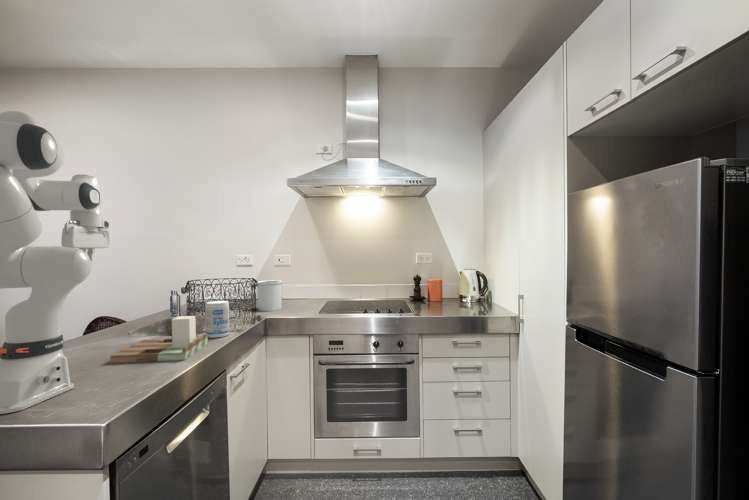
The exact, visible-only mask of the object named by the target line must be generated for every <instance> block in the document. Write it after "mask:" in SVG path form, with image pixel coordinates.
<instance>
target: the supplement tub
mask: <svg viewBox="0 0 749 500" xmlns="http://www.w3.org/2000/svg"><path fill="white" fill-rule="evenodd" d="M204 312H205V333H207V335H208V339H209V338H211V339H213V338H214V339H216V338H225V337H226V336H229V335H230V302H229V301H227V300H213V301H206V302H205V311H204Z"/></svg>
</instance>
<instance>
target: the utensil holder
mask: <svg viewBox="0 0 749 500" xmlns="http://www.w3.org/2000/svg"><path fill="white" fill-rule="evenodd" d="M282 283H283V281H282V280H280V279H271V280H270V279H269V280H259V281H257V282H256V286H257V305H258V306H257V307H258V311H259V312H275V311H279V310H282V308H283V307H282V304H283V303H282V302H283V300H282V298H283V297H282V296H283V295H282V292H283V291H282Z"/></svg>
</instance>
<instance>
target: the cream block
mask: <svg viewBox="0 0 749 500" xmlns="http://www.w3.org/2000/svg"><path fill="white" fill-rule="evenodd" d="M196 320H197V319H196V315H185V316H181V315H180V316H177V317H174V318H172V319H171V334H172V335H171V339H172V347H185V346H187V345H188V344H190V343H191V342H193V341H194V340H196V338H197V329H196V326H197V323H196Z"/></svg>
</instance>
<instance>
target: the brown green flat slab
mask: <svg viewBox="0 0 749 500" xmlns="http://www.w3.org/2000/svg"><path fill="white" fill-rule="evenodd" d="M208 339H209V337H208V335H207V333H206V332H205V333H203V334H202V335H200V336H198V337H196V340H194V341H193V342H191V343H190V344H188V345H187V346H185V347H172V338H155V339H154V338H153V339H152V338H151V339H142V340H140V341H138V342H136V343H134V344H131V345H130V346H128V347H126V348H124V349H122V350H119V351H117V352H115V353H113V354H111V355H110V357H109V358H110V361H109V363H110V364H126V363H129V364H130V363H148V362H151V363H152V362H165V361H167V362H170V361H186V360H188V359H189V358H190V357H192V356H193V355H194V354H195V353H196V352H198V351H199V350H201V349H203V347H205V346H206V345H207V344H208V341H209V340H208Z"/></svg>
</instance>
